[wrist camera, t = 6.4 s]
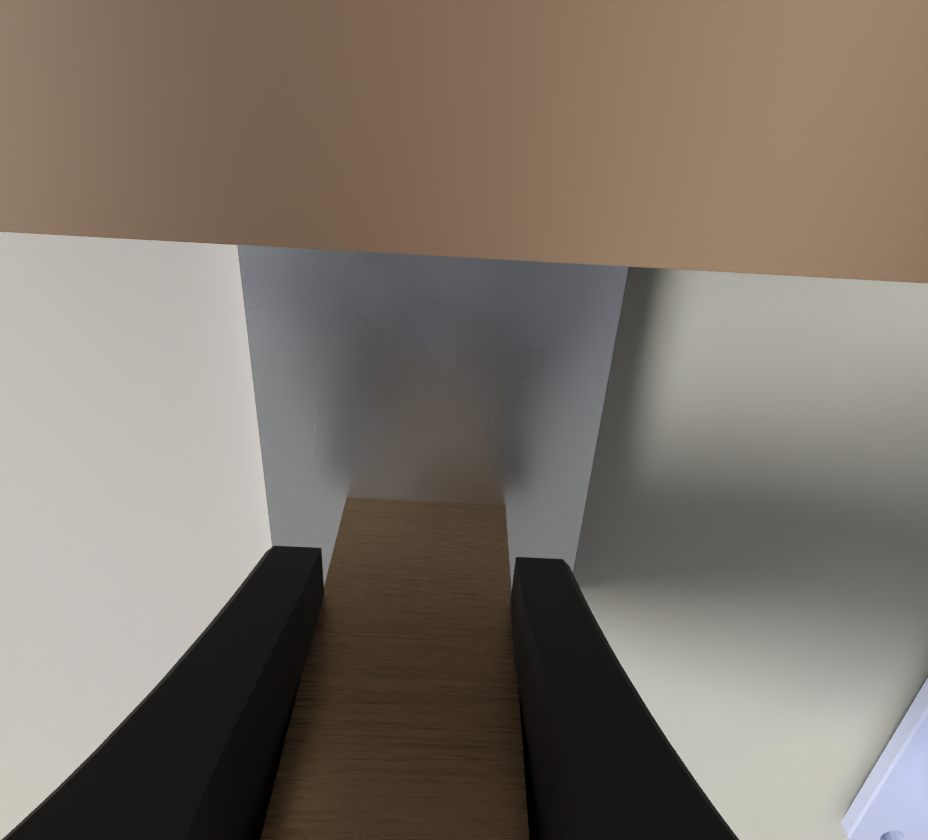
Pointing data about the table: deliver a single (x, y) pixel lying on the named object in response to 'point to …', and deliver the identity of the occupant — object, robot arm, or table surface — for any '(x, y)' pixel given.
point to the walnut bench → (479, 129)
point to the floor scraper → (419, 515)
